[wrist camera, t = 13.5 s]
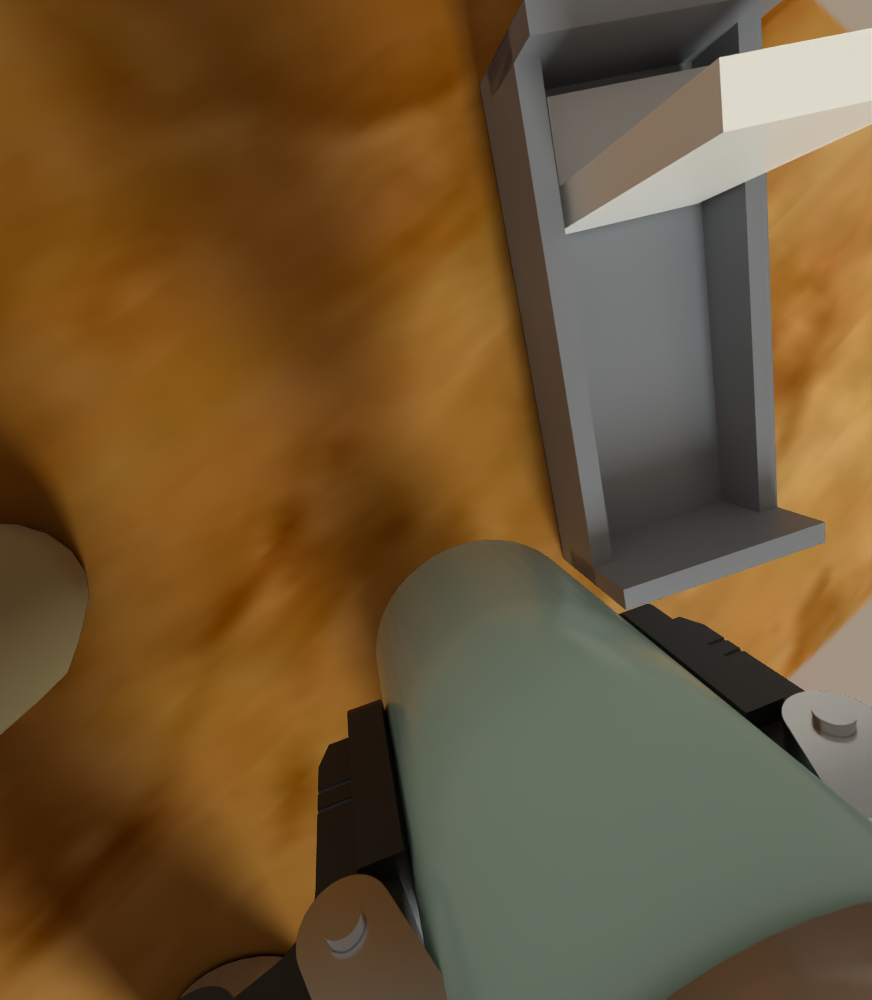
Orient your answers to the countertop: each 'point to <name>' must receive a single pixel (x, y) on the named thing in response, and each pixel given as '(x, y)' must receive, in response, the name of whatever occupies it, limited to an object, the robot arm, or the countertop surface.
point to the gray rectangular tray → (642, 316)
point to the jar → (603, 805)
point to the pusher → (704, 127)
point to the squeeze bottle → (36, 616)
